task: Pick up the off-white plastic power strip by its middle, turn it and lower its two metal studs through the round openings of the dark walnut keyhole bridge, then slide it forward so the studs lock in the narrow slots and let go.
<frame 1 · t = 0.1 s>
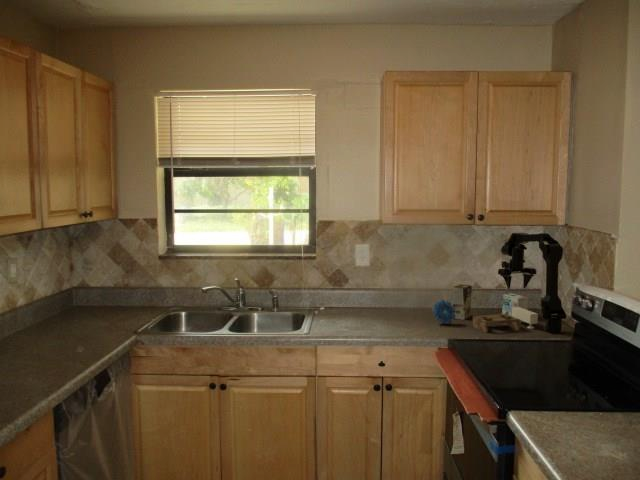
hand: (516, 288, 265), 15 cm above the table, tool pointing down, fingers open, 9 cm apart
keyhole bridge: (495, 328, 245), on the table
grapes: (444, 324, 252), on the table
light bulb box: (514, 316, 267), on the table
coffee box: (461, 317, 265), on the table
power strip: (524, 325, 250), on the table
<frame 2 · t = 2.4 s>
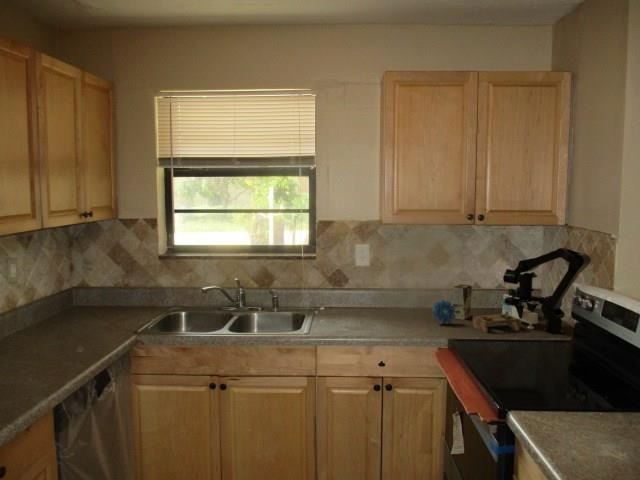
hand: (524, 318, 250), 3 cm above the table, tool pointing down, fingers closed on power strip, 4 cm apart
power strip: (524, 325, 250), on the table, touching gripper
everything else where it was.
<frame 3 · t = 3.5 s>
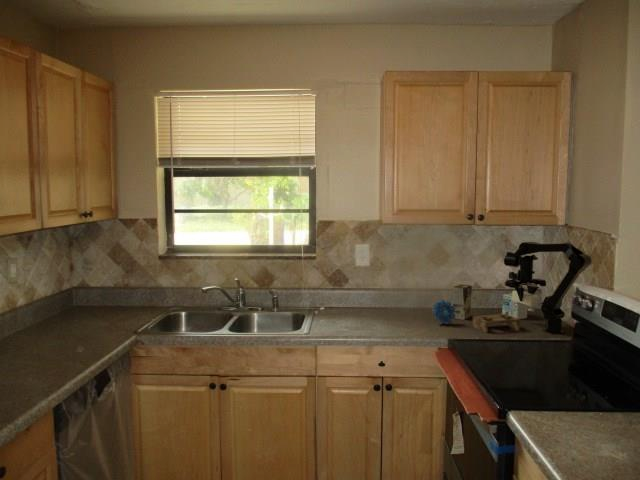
hand: (524, 301, 249), 12 cm above the table, tool pointing down, fingers closed on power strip, 4 cm apart
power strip: (524, 308, 250), point 8 cm above the table, touching gripper
everything else where it was.
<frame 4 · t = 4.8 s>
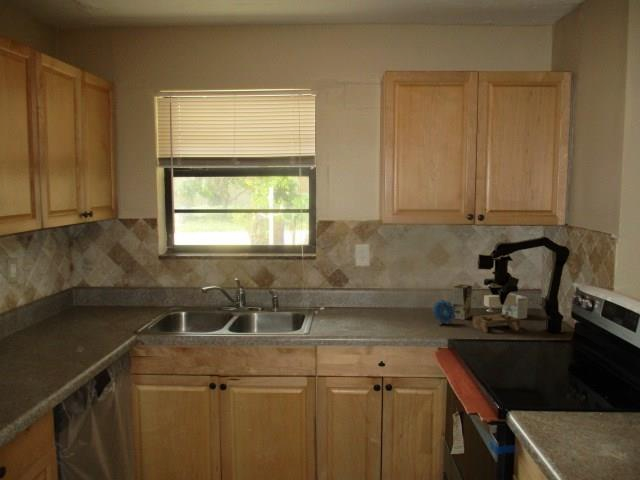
hand: (499, 303, 242), 12 cm above the table, tool pointing down, fingers closed on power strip, 4 cm apart
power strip: (499, 310, 242), point 9 cm above the table, touching gripper
everything else where it was.
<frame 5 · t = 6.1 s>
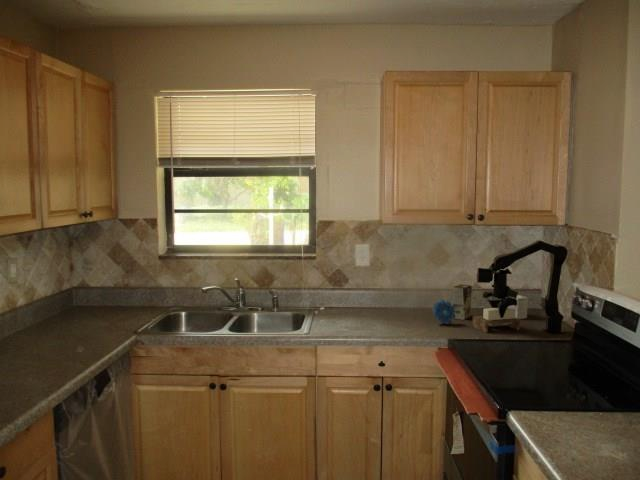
hand: (499, 316, 242), 6 cm above the table, tool pointing down, fingers closed on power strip, 4 cm apart
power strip: (498, 323, 243), point 3 cm above the table, touching gripper
everything else where it was.
when the fingers open (6 cm above the table, at t = 7.2 s): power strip stays where it is, resting on keyhole bridge.
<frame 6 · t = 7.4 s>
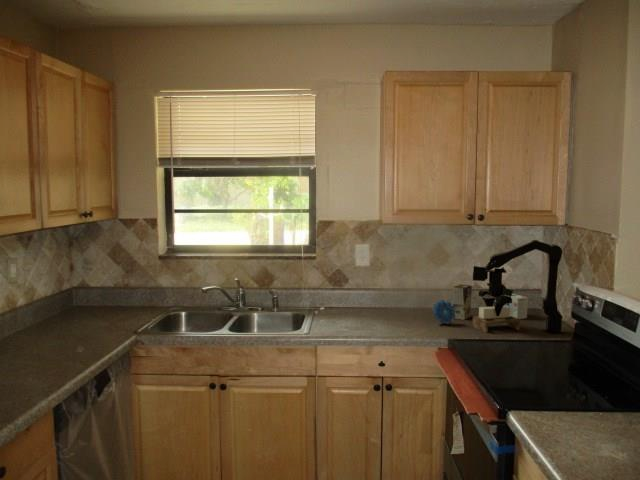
hand: (494, 314, 246), 6 cm above the table, tool pointing down, fingers open, 5 cm apart
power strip: (494, 322, 246), point 2 cm above the table, touching keyhole bridge
everything else where it was.
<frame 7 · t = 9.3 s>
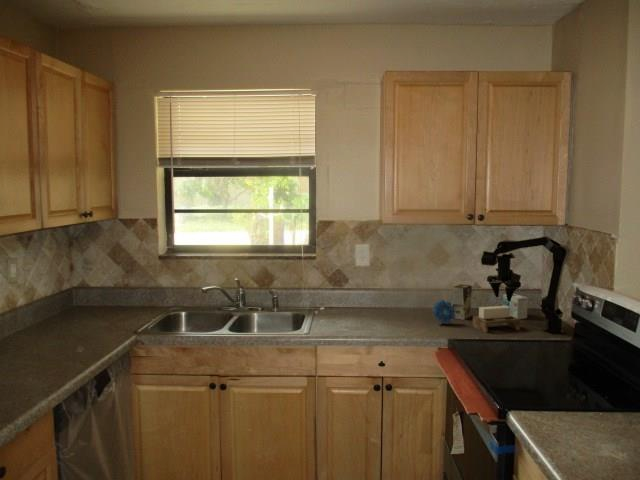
hand: (502, 299, 252), 12 cm above the table, tool pointing down, fingers open, 9 cm apart
nothing on the table moved.
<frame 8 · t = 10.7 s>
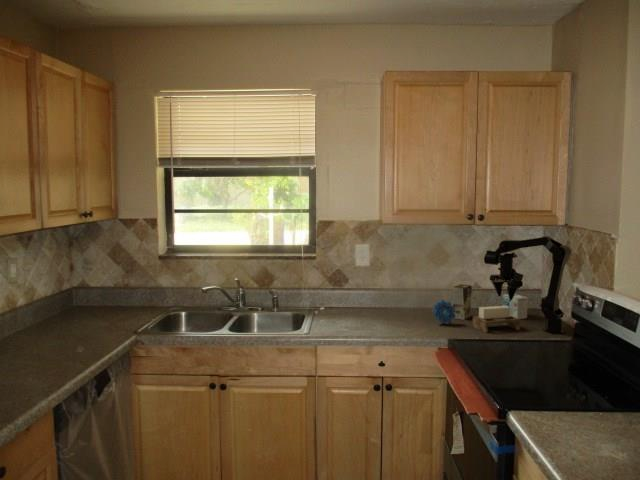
hand: (505, 298, 254), 12 cm above the table, tool pointing down, fingers open, 9 cm apart
nothing on the table moved.
at the end: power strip 0.3 cm from the target spot on the keyhole bridge, point 2.4 cm above the keyhole bridge's base; the gripper is holding nothing; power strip tilted 0° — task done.
